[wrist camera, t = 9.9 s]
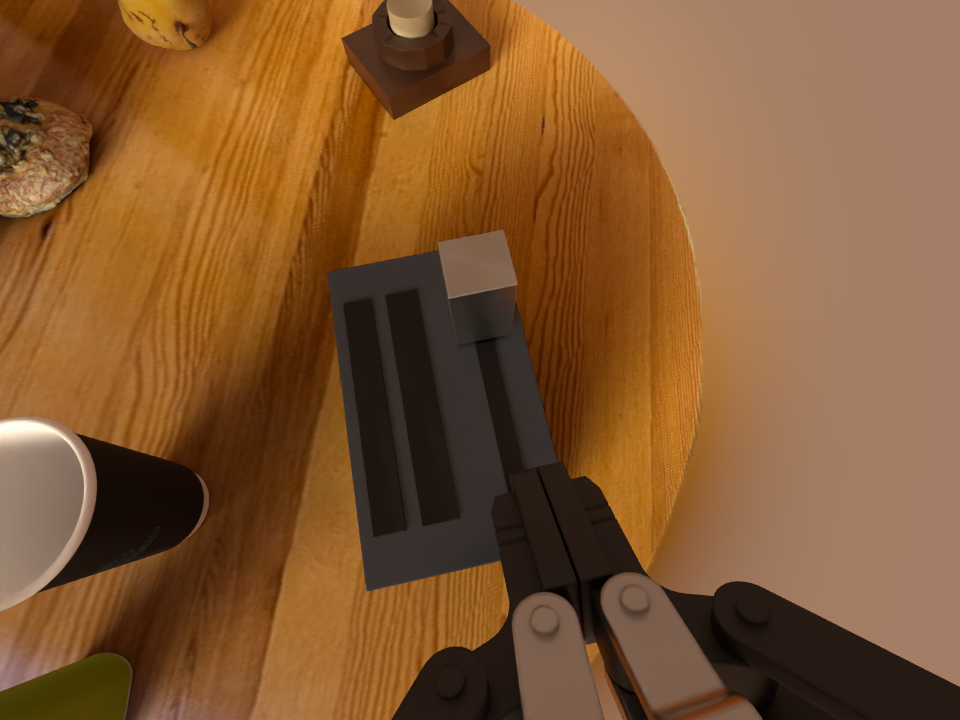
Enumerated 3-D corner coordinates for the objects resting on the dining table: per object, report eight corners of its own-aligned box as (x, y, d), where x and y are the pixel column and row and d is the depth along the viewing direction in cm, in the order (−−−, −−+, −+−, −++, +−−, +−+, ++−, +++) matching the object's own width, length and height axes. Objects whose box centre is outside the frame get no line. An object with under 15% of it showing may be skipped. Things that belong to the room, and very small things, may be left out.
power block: (442, 16, 42) (437, -33, 38) (490, 69, 40) (490, 23, 36) (348, 62, 40) (334, 16, 36) (393, 120, 38) (383, 77, 34)
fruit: (210, -9, 35) (175, -86, 37) (107, -4, 32) (77, -87, 35) (235, 75, 41) (203, 3, 44) (150, 84, 39) (122, 8, 41)
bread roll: (-50, 141, 38) (-116, 87, 33) (95, 106, 41) (52, 53, 36) (-22, 245, 35) (-90, 204, 30) (130, 200, 38) (89, 156, 33)
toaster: (547, 528, 28) (579, 543, 19) (407, 560, 28) (365, 592, 18) (495, 314, 33) (499, 236, 23) (374, 338, 32) (326, 270, 23)
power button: (419, 3, 37) (416, -21, 36) (443, 28, 36) (441, 6, 35) (382, 20, 37) (377, -2, 35) (405, 47, 36) (401, 25, 34)
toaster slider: (511, 334, 21) (518, 284, 16) (457, 345, 21) (448, 298, 16) (499, 289, 22) (503, 228, 17) (447, 300, 22) (436, 241, 17)
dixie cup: (189, 595, 27) (4, 655, 17) (84, 541, 28) (-152, 566, 18) (256, 472, 29) (129, 457, 19) (156, 426, 30) (-17, 388, 20)
